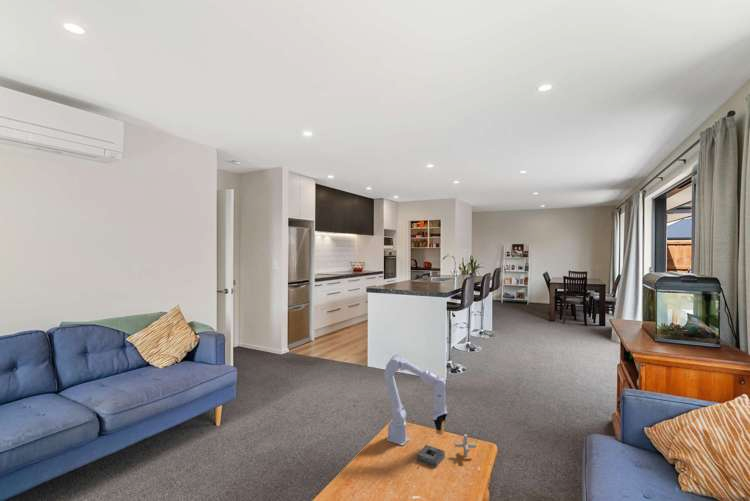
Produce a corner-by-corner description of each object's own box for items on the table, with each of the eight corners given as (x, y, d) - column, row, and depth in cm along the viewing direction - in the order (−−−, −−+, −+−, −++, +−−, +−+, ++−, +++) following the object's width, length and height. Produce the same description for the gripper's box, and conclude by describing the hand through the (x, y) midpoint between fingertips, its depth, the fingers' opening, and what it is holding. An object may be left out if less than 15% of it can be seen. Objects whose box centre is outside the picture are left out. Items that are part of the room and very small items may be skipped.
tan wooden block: (436, 433, 182) (436, 421, 182) (438, 430, 185) (438, 419, 185) (441, 435, 181) (441, 423, 181) (443, 432, 183) (444, 421, 183)
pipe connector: (474, 450, 178) (474, 430, 179) (477, 462, 169) (477, 441, 169) (453, 449, 179) (453, 429, 180) (456, 460, 170) (456, 439, 170)
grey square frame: (417, 460, 170) (417, 454, 170) (426, 450, 178) (426, 444, 178) (436, 467, 164) (436, 460, 164) (444, 457, 173) (444, 450, 173)
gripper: (441, 409, 175) (441, 436, 174) (452, 399, 187) (452, 424, 187) (428, 405, 178) (428, 432, 178) (439, 395, 191) (439, 421, 190)
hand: (439, 428), depth 183 cm, fingers closed on tan wooden block, 3 cm apart
